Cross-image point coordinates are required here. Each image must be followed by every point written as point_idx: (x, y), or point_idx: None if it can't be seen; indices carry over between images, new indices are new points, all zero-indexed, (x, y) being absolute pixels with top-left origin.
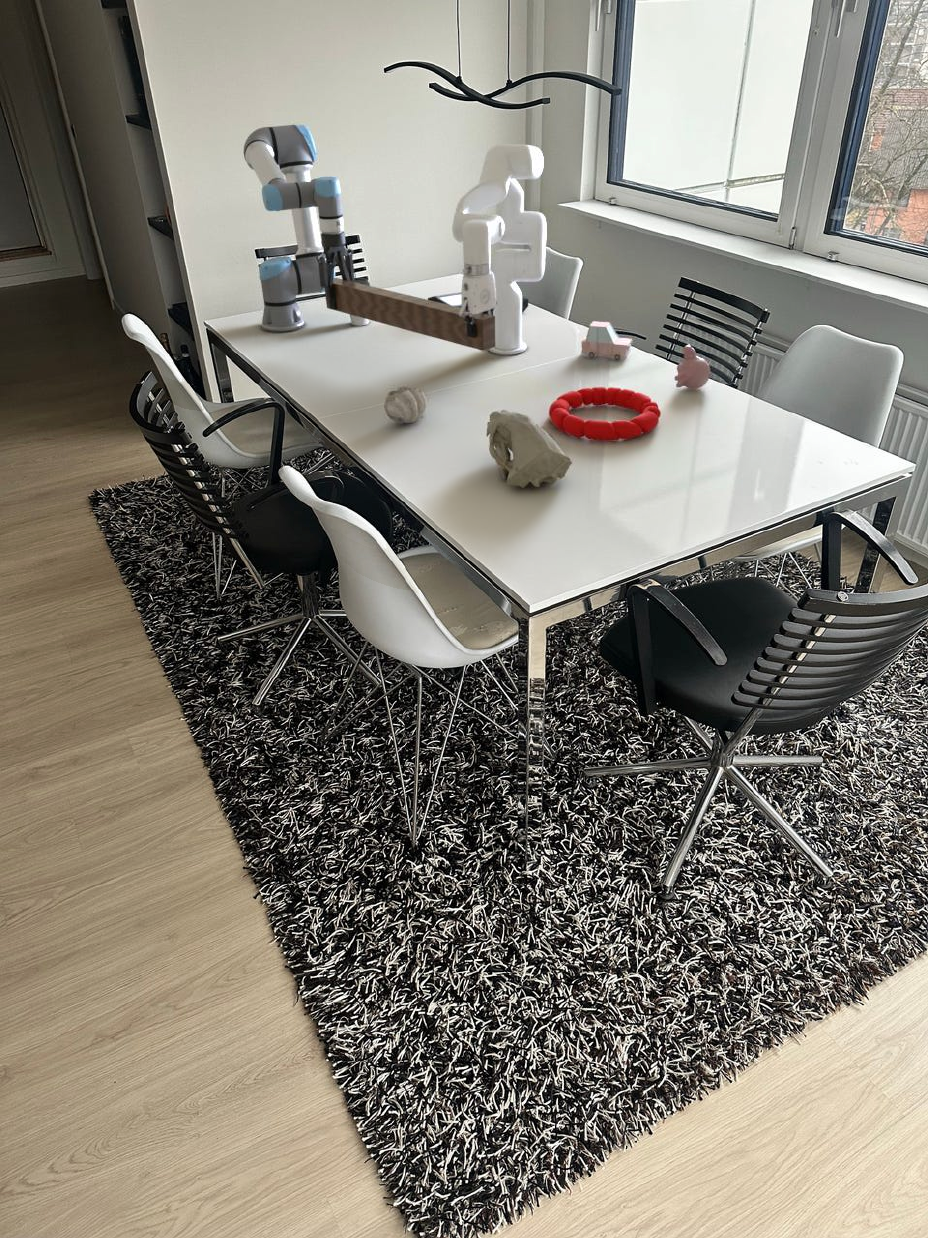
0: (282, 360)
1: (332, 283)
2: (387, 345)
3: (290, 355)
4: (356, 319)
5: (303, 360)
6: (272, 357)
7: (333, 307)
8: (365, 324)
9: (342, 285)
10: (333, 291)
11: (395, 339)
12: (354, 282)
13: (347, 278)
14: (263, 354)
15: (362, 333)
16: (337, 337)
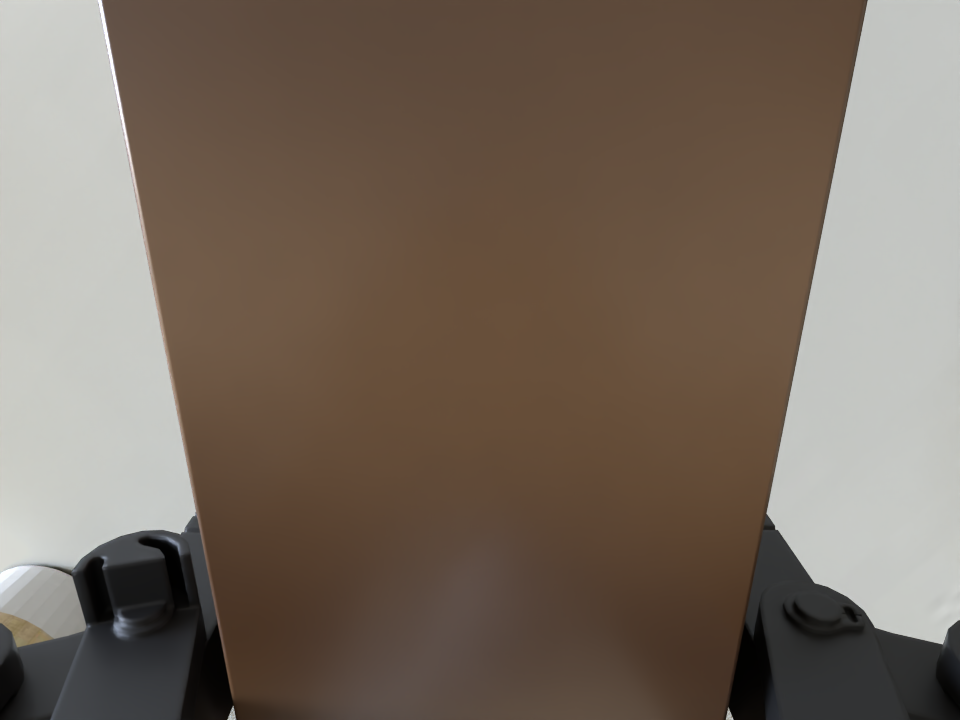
0: (924, 424)
1: (804, 691)
2: None
3: (811, 462)
4: (68, 618)
5: (854, 310)
6: (902, 517)
7: None
8: (31, 565)
9: (804, 281)
10: None
11: (16, 125)
12: (182, 229)
13: (146, 717)
14: (880, 597)
15: (152, 447)
16: None
